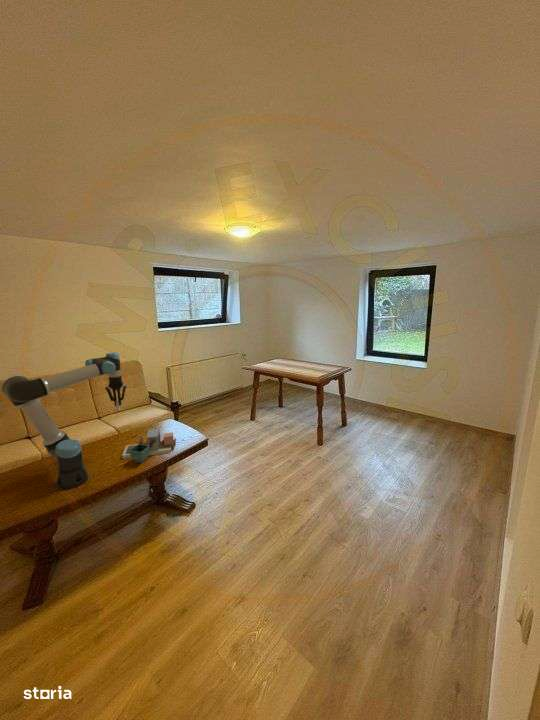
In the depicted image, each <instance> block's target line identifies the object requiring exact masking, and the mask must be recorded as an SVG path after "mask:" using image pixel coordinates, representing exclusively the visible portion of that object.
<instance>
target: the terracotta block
mask: <svg viewBox="0 0 540 720" xmlns="http://www.w3.org/2000/svg"><path fill="white" fill-rule="evenodd" d="M174 438H175V437H174V432H166V433H163V439H164V445H171V444H173V442H174Z"/></svg>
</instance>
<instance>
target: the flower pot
mask: <svg viewBox="0 0 540 720" xmlns="http://www.w3.org/2000/svg"><path fill="white" fill-rule="evenodd" d="M130 455H131V458H130V459H132V461H133V462H135V463H139V464H142V463H144V462H145V461H146V460H147V459H148V457H149V456H150V455H149V445H140V444H139V443H138V445H136V446H135V447H134V448H132V449H131V450H130ZM148 455H149V456H148Z"/></svg>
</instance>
